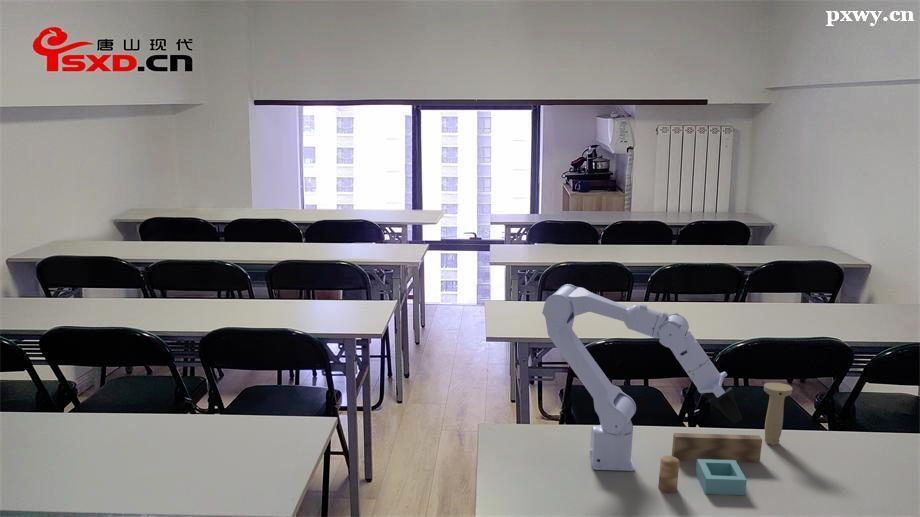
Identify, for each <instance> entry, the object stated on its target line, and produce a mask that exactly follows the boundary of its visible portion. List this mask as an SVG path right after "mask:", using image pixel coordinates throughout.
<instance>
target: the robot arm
mask: <svg viewBox="0 0 920 517" xmlns="http://www.w3.org/2000/svg"><path fill="white" fill-rule="evenodd" d="M541 313H542V315H543V316H544V318H545V325H546V332H547V335H548V338H549V339H550V340H551V341H552V343H553V345H554V346H555V347H556V349H557V350H558V351H559V353H560V354H561V356H562V357H563V359H564V360H565V361H566V363H567V364H568V365H569V367H570V368H571V370H572V371H573V372H574V374H575V375H576V376H577V378H578V379H579V381H580V382H581V383H582V384H583V386H584V387H585V389H586V390H587V391H588V393H589V394H590V396H591V398H592V399H593V407H594V411H595V413H596V414H597V416H598V418H599V423H600V424H599V425H593V426H592V427H591V431H590V447H589V456H590V457H589V458H590V461H591V465H592V469H593V470H595V471H597V470H598V471H625V472H626V471H628V472H632V471H633V472H634V471H635V470H636V469H635V465H634V462H633V459H632V451H633V450H632V448H633V438H634V437H633V436H634V435H633V434H634V425H633V423H632V420H631V419H632V418H633V416H634V415H635V414H636V411H637V406H636V405H637V404H636V402H635V400H634V399H633V398H632V397H631V396H629V395H628V394H626V393H625V392H623V390H622V389H621V387H619V386H618V385H614V384H612V382H611V381H610V379H608V377H607V376H606V374H605V373H604V371H603V370H602V368H601V367H600V366H599V364H598V363H597V361H595V359H594V358H593V356H592V355H591V353H590V352H589V350H588V349H587V348H586V347H585V345H584V344H583V342H582V341H581V339H580V338H579V337H578V335H577V334H576V332H574V330H573V326H574V321H575V317H576V316H579V315H580V316H581V315H583V314H586V313H592V314H593V313H594V314H596V315H599V316H604V317H606V318H611V319H614V320H618V321H620V322H621V321H622V322H623V323H624V325H625V326H626V328H627V329H628V330H631V331H635V332H636V333H640V334H643V335H646V336H649V337H651V338H654V339H658V340H659V341H658V342H659V344H660V345H662V346H664V347H665V348H669V349H670V350H671V352H672V354H673V355H674V357H675V359H676V360H677V361H678V362H679V364H680V365H681V368H682V369H683V370H684V371H685V372H686V374H687V375H688V377H689V378H690V380H691V381H692V382H693V384H694V385H695V387H696V388H697V391H698V393H700V395H701V397H703V398H705V399H707V402H708V403H709V404H711V405H712V406H713V407H716V408H717V409H718V410H719V411H720V412H721V413H722V414H723V415H724V416H725V417H726V418H727V419H728V420H729V421H731V423H733V424H734V425H735V424H737V423H739V422H740V421H742V420H743V419H744V418H743V415H742V413H741V410H740V409H739V407H738V405H737V402H736V398H735V395H734V394H735V393H734V390H733V387H732V386H730V387H728V388H727V389H726V388H725V384H724V383H725V382H724V378H725V377H727V376H728V373H727V372H726V371H723V372H719V370H718V369H717V368H716V366H715V365H714V363H713V362H712V361H711V359H710V357H709V355H707V353H706V352H705V351H704V350H705V349H704V348H702V346H701V345H700V343H699V342H698V341H697V339H696V338H695V337H694V335H693V334H692V332H691V331H689V330H690V329H689V328H690V327H689V326H690V325H689V323H688V320H687V319H686V318H685V317H684V316H682V315H681V314H679V313H678V312H672V313H668V312H666V311H663V312H662V311H661V312H660V311H657V310H656V309H655V310H654V309H652V308H648V305H647V304H645V303H641V304H640V305H639V304H634V305H632V306H626V305H624V304H621V303H619V302H618V301H617V302H616V301H614V300H611V299H609V298H606V297H604V296H601V295H599V294H596V293H593V292H591V291H589V290H587V289H586V288H584V287H581V286H580V287H579V286H575V285H573V284H570V283H569V284H568V283H567V284H564V285H561V286H560V287H559V288H558V289H557V290H556V291H555V292H554V293H553V294H552V295H551V294H550V295H549V296H548V297H547V298H546V299H545V302H544V306H543V308H542V312H541Z"/></svg>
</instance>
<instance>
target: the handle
mask: <svg viewBox="0 0 920 517" xmlns="http://www.w3.org/2000/svg"><path fill="white" fill-rule="evenodd" d="M763 391H764V392H765V393H766V394H767V395H769V400H768V405H767V411H766V416H765V420H764V421H765V423H764V441H765V443H766V445H771V446H773V447H774V446H776V445H779V443H780V439H781V436H782V435H781V434H782V431H783V426H784V425H783V423H784V409H785V407H784V406H785V398H786V397H788V396H791V395H792V394H793V387H792V386H791V385H790V384H788V383H787V384H786V383H783V382H782V383H781V382H766V383H764V385H763Z"/></svg>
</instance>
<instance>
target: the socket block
mask: <svg viewBox="0 0 920 517" xmlns="http://www.w3.org/2000/svg"><path fill="white" fill-rule="evenodd" d="M695 476H696V478H697V481H698V482H699V484H700V487H701V488H702V491H703V493H704V495H721V496H722V495H725V496H726V495H728V496H745V495H746V490H747V488H746V487H747V478H746V476H745V474H744V472H743V471H742V469H741V467H740V465H739V464H738V462H736V460H712V459H697V461H696V466H695Z"/></svg>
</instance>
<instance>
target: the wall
mask: <svg viewBox="0 0 920 517" xmlns="http://www.w3.org/2000/svg"><path fill="white" fill-rule="evenodd" d="M672 438H673V439H672V448H671V449H672V450H671V451H672V452H671V456H673V457H675V458H677V459H678V460H679V461H694V460H696V462H697V459H712V460H736V462H737V463H738V462H739V463H760V462H761V453H762V446H763V438H762V437H761V435H760V434H759V435H754V434H725V433H723V434H722V433H720V434H719V433H693V432H692V433H687V432H685V433H684V432H683V433H682V432H673V437H672Z"/></svg>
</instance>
